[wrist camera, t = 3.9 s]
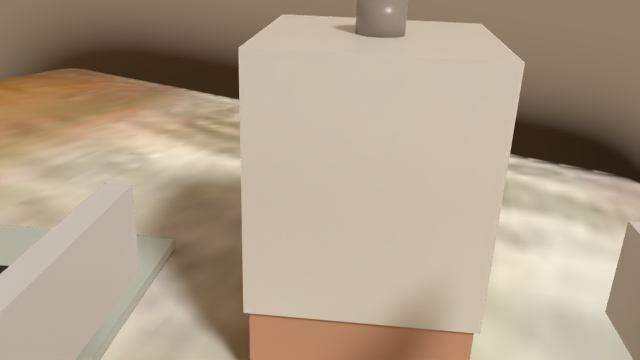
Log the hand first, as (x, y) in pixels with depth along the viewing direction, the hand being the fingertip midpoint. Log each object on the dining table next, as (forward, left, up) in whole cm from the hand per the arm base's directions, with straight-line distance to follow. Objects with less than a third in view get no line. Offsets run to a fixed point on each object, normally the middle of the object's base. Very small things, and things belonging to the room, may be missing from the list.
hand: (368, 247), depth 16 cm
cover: (-8, +7, -8) cm, 13 cm away
